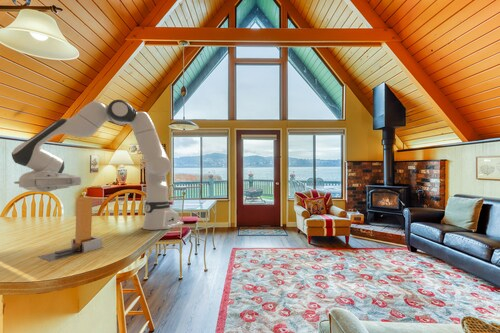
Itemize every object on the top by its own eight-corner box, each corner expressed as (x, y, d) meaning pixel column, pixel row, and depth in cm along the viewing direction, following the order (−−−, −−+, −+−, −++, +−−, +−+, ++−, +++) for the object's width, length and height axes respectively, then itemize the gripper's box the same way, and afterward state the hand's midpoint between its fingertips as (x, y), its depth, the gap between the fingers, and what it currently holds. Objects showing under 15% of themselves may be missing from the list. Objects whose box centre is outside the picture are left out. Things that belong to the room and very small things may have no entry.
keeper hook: (89, 244, 96) (89, 235, 96) (102, 247, 91) (102, 238, 91) (71, 248, 90) (71, 239, 90) (83, 252, 86) (84, 242, 86)
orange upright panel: (86, 245, 93) (87, 196, 93) (93, 247, 90) (94, 197, 91) (52, 253, 83) (54, 199, 84) (59, 256, 81) (61, 199, 82)
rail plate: (90, 245, 96) (90, 243, 96) (103, 249, 92) (103, 247, 92) (37, 258, 81) (37, 256, 81) (49, 263, 77) (49, 261, 77)
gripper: (12, 174, 93) (27, 174, 87) (71, 173, 111) (88, 173, 105) (12, 190, 93) (27, 191, 87) (71, 187, 111) (88, 188, 105)
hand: (61, 181), depth 96 cm, fingers open, 8 cm apart
